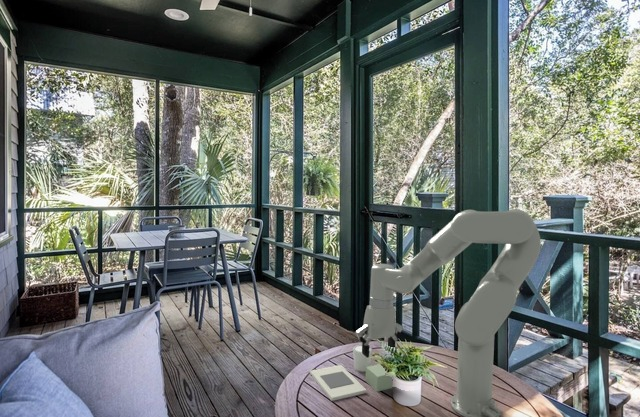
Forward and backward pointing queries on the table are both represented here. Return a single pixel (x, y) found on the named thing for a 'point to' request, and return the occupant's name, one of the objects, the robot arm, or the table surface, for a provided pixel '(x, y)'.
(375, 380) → the sage block
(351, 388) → the cream flat rectangular slab
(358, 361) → the white cylinder
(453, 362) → the table surface
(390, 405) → the table surface
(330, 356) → the table surface
